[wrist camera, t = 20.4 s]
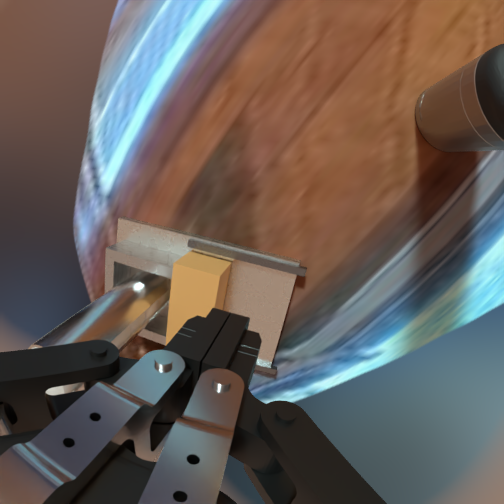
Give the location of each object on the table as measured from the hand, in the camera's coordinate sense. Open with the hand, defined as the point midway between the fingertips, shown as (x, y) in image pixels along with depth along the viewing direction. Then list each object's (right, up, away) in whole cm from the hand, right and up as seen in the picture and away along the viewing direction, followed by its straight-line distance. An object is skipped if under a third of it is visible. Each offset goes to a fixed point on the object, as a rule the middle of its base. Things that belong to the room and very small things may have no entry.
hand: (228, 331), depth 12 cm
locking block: (-6, -4, +32) cm, 33 cm away
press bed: (-7, -3, +34) cm, 35 cm away
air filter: (-13, -2, +33) cm, 36 cm away
